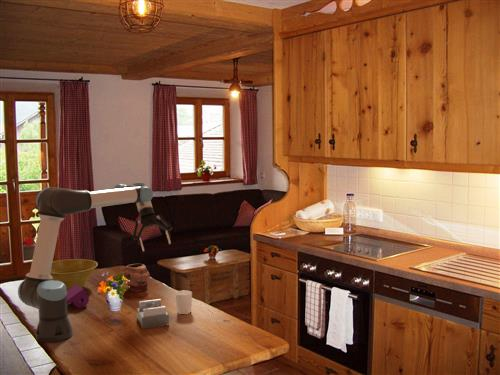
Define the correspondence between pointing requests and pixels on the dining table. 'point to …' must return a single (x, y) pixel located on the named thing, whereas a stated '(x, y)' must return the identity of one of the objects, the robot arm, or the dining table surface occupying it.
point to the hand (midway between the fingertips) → (156, 246)
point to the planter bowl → (72, 271)
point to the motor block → (152, 314)
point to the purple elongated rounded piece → (77, 296)
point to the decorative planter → (136, 276)
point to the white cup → (184, 301)
